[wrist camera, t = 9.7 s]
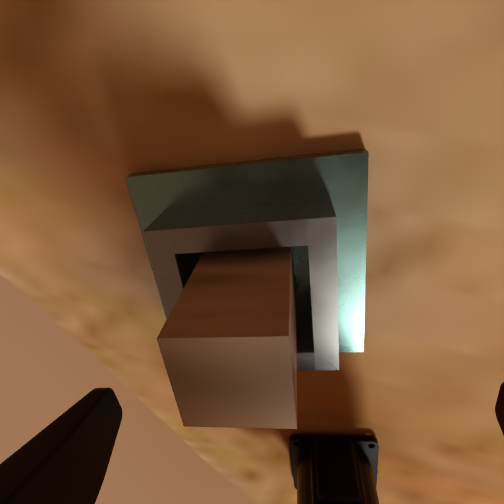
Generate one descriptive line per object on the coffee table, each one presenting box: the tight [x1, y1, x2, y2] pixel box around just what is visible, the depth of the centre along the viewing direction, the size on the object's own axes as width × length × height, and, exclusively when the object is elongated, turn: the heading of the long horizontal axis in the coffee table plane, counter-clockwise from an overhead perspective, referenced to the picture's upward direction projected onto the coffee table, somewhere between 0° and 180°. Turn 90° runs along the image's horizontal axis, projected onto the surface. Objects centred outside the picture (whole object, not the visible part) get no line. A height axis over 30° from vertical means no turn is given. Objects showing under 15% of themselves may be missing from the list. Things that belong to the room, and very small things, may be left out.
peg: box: [157, 246, 297, 429], centre depth 15 cm, size 4×4×8 cm
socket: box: [125, 149, 368, 370], centre depth 18 cm, size 12×12×4 cm
